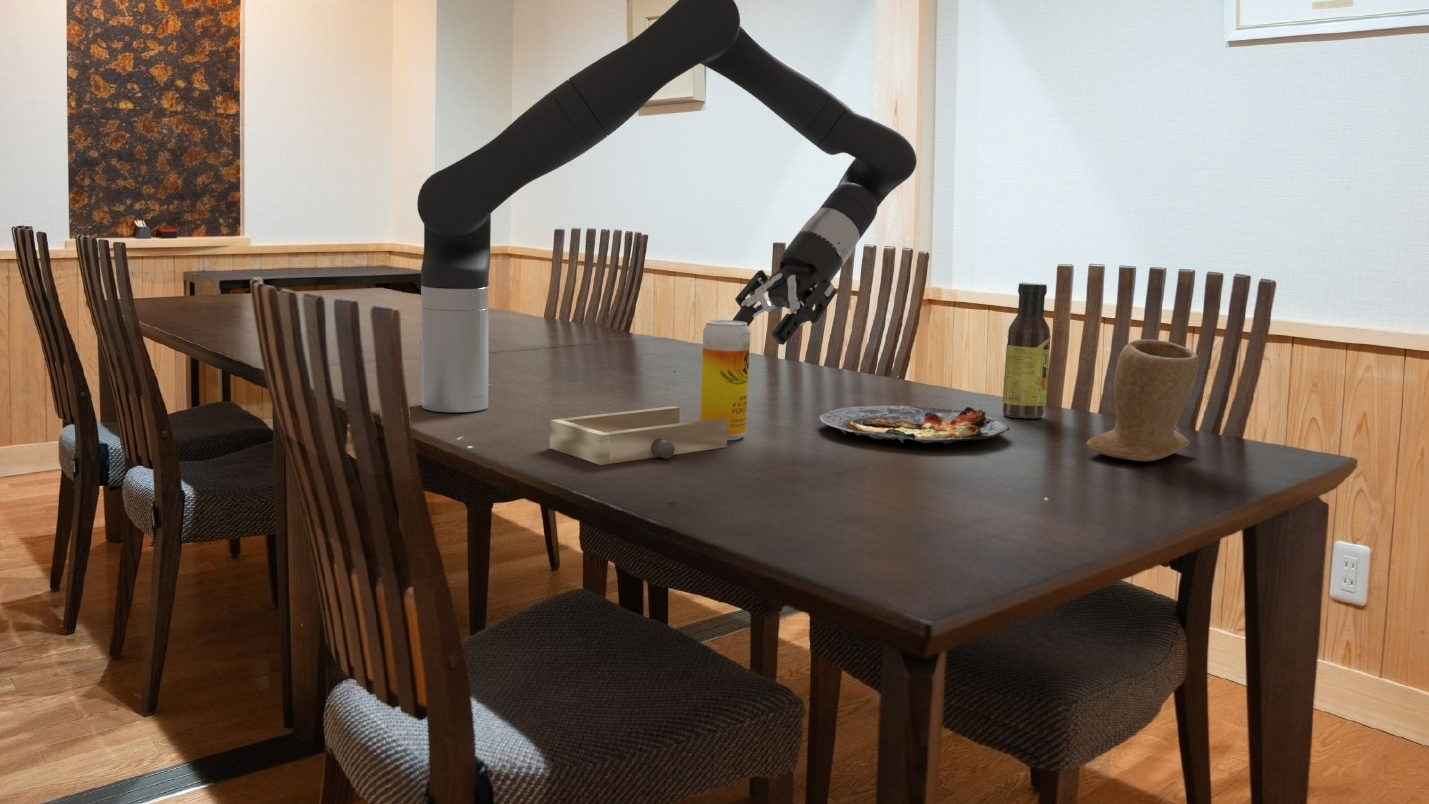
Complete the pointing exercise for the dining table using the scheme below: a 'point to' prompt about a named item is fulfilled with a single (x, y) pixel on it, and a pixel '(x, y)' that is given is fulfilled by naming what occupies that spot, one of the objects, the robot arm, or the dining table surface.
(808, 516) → the dining table surface
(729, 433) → the beer can
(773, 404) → the dining table surface
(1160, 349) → the stone cup
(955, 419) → the food plate
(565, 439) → the wooden stick frame
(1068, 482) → the dining table surface
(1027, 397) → the sauce bottle
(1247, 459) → the dining table surface
